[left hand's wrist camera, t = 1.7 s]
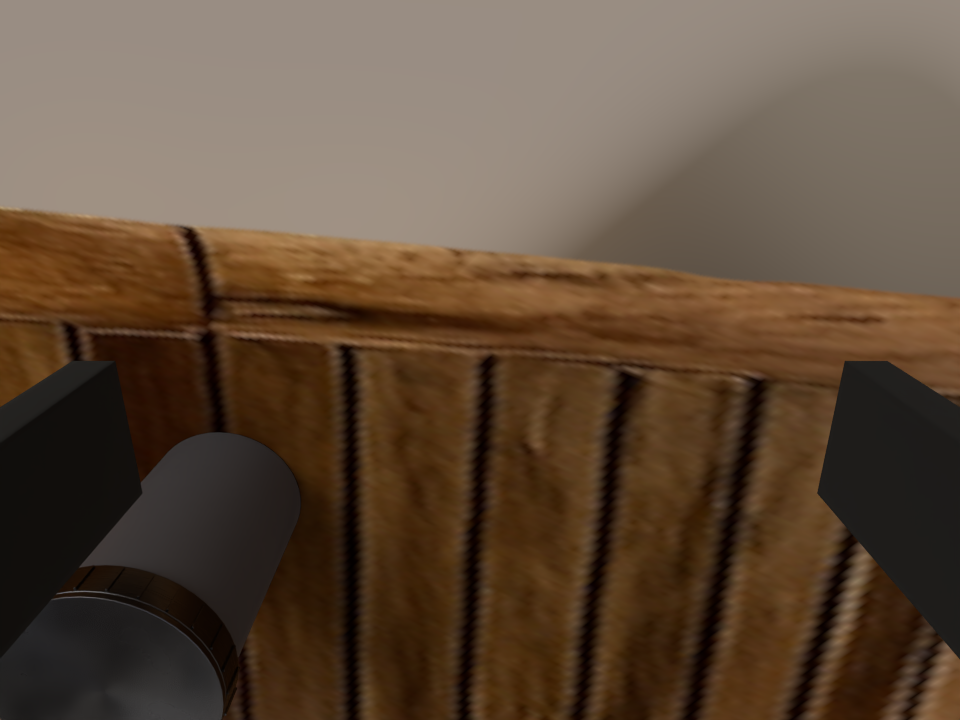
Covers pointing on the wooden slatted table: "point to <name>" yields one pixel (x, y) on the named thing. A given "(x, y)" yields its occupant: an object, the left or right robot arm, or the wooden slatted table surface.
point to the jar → (211, 524)
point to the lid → (120, 653)
